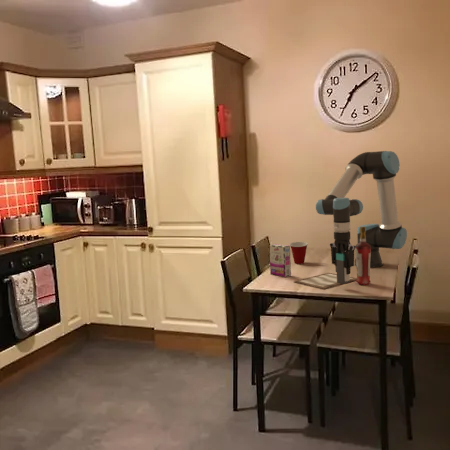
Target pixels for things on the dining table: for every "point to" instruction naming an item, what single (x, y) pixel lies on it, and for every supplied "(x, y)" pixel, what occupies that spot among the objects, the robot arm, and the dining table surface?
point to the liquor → (363, 259)
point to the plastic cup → (299, 251)
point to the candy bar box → (280, 260)
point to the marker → (340, 268)
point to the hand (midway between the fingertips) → (343, 279)
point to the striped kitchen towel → (322, 281)
